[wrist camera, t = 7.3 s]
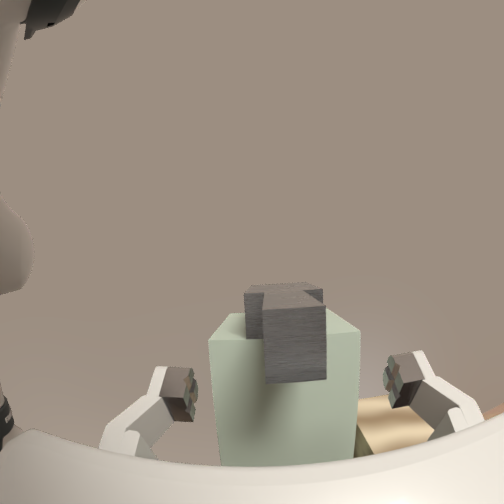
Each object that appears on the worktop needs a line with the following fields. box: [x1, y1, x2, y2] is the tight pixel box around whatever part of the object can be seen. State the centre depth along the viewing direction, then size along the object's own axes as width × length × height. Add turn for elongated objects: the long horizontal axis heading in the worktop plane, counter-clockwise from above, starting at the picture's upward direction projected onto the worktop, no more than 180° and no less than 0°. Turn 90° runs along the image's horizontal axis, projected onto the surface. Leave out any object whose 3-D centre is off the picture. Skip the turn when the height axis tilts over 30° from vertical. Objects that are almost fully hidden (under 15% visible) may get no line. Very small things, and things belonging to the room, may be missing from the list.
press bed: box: [353, 394, 434, 458], centre depth 24 cm, size 12×10×15 cm
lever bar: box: [244, 282, 327, 384], centre depth 20 cm, size 17×5×3 cm, turn 177°
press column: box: [208, 308, 360, 467], centre depth 24 cm, size 12×10×26 cm
